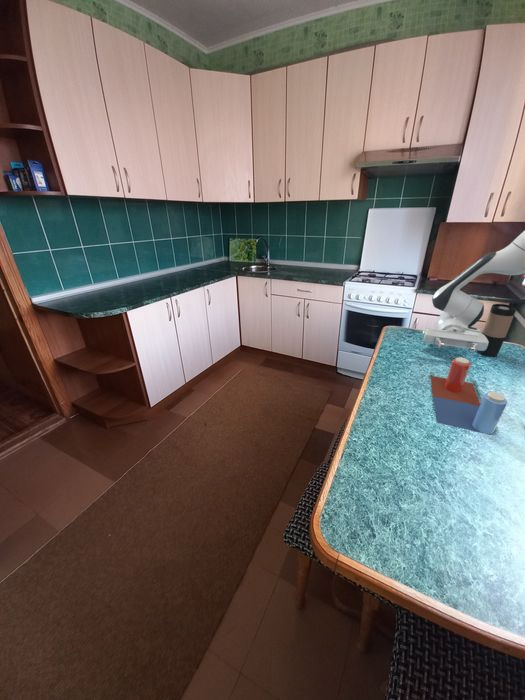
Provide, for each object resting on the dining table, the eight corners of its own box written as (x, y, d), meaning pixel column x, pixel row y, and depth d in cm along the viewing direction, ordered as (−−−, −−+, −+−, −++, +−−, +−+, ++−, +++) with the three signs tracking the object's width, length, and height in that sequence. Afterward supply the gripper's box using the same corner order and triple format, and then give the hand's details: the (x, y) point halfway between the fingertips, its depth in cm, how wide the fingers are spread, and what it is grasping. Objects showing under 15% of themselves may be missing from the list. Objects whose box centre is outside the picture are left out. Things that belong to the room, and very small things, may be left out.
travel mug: (472, 352, 120) (489, 306, 111) (479, 347, 125) (495, 302, 115) (494, 359, 115) (513, 311, 106) (500, 353, 119) (519, 307, 110)
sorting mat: (472, 384, 100) (472, 383, 100) (490, 436, 78) (491, 435, 78) (429, 376, 105) (430, 375, 104) (436, 424, 83) (436, 422, 82)
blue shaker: (491, 424, 81) (505, 392, 76) (496, 436, 77) (511, 403, 72) (470, 419, 83) (483, 388, 78) (473, 431, 79) (487, 399, 74)
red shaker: (460, 385, 98) (470, 357, 93) (462, 393, 94) (473, 365, 89) (443, 382, 100) (452, 355, 95) (445, 390, 96) (454, 362, 91)
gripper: (424, 322, 116) (425, 335, 105) (485, 329, 108) (494, 344, 97) (420, 336, 119) (421, 351, 107) (479, 344, 111) (488, 361, 100)
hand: (456, 348), depth 102 cm, fingers open, 8 cm apart
